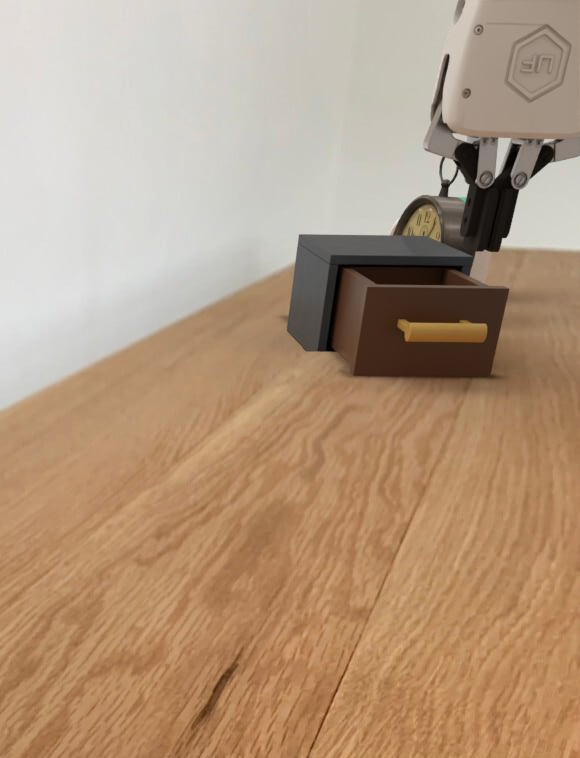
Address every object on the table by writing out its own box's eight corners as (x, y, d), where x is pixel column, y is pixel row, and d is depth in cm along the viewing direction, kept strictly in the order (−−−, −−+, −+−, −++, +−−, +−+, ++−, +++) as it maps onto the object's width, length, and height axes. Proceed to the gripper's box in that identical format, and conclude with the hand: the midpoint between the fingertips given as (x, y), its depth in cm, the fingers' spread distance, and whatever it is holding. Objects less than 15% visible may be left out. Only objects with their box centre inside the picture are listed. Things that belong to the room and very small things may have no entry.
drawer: (507, 394, 89) (530, 298, 85) (365, 392, 89) (381, 296, 85) (440, 348, 103) (457, 263, 100) (318, 346, 103) (330, 262, 100)
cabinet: (452, 363, 102) (473, 256, 97) (315, 361, 102) (330, 254, 97) (408, 331, 114) (426, 235, 109) (286, 330, 114) (298, 234, 109)
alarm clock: (376, 308, 125) (403, 146, 117) (420, 307, 126) (450, 146, 118) (423, 327, 116) (456, 153, 107) (470, 326, 117) (506, 153, 108)
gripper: (451, -77, 66) (390, 253, 76) (698, -69, 67) (607, 260, 76) (414, -64, 73) (363, 239, 82) (640, -57, 73) (563, 245, 83)
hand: (480, 248), depth 79 cm, fingers closed
